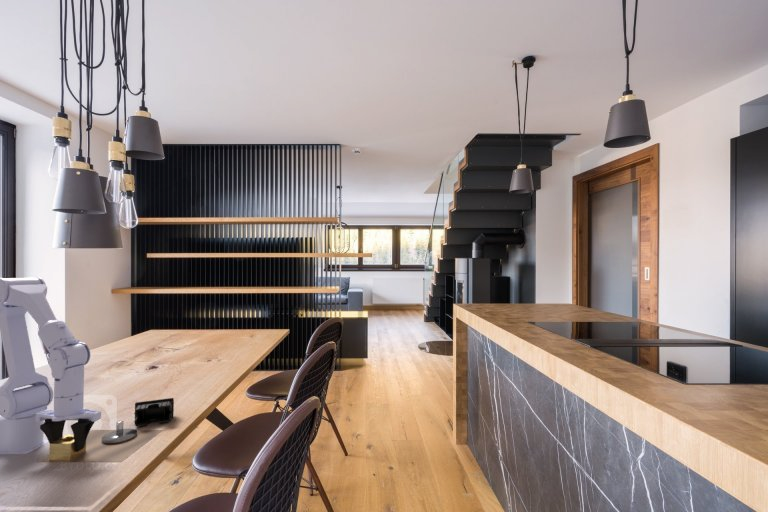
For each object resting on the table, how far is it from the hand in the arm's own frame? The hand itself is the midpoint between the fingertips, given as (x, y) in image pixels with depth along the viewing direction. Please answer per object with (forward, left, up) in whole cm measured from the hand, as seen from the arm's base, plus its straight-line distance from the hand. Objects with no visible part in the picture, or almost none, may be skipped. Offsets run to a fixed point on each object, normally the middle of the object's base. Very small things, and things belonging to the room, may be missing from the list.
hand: (68, 449), depth 97 cm
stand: (+6, +10, -1) cm, 12 cm away
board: (+5, +6, -2) cm, 8 cm away
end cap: (+9, +21, -2) cm, 23 cm away
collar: (0, 0, -1) cm, 1 cm away
